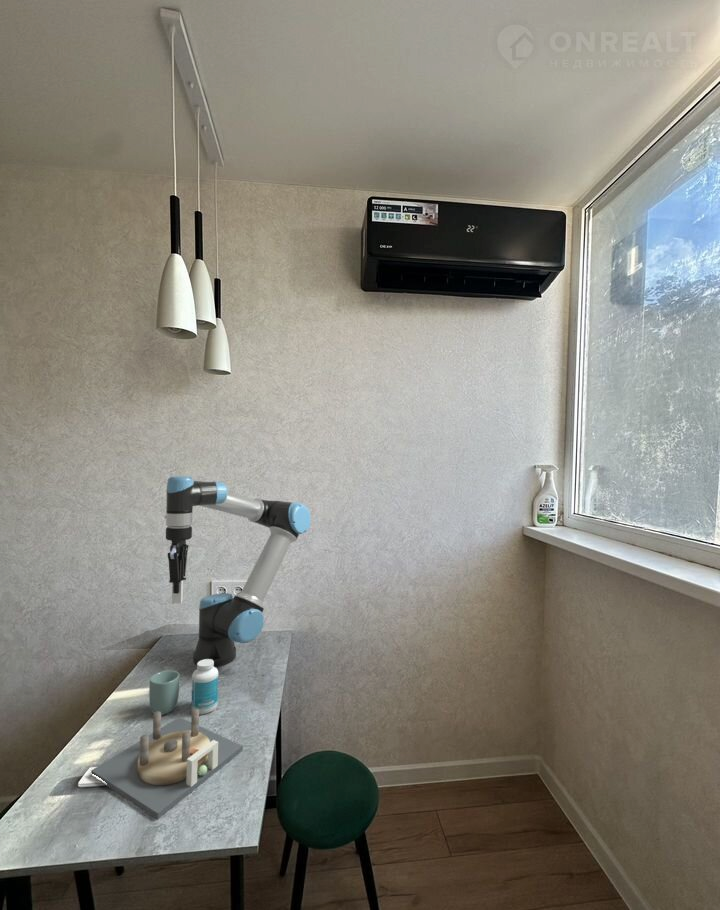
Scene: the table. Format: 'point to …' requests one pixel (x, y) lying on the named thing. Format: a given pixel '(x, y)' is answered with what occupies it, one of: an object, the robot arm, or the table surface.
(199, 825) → the table surface
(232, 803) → the table surface
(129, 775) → the stand
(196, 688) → the pill bottle
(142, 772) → the disc
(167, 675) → the cup
